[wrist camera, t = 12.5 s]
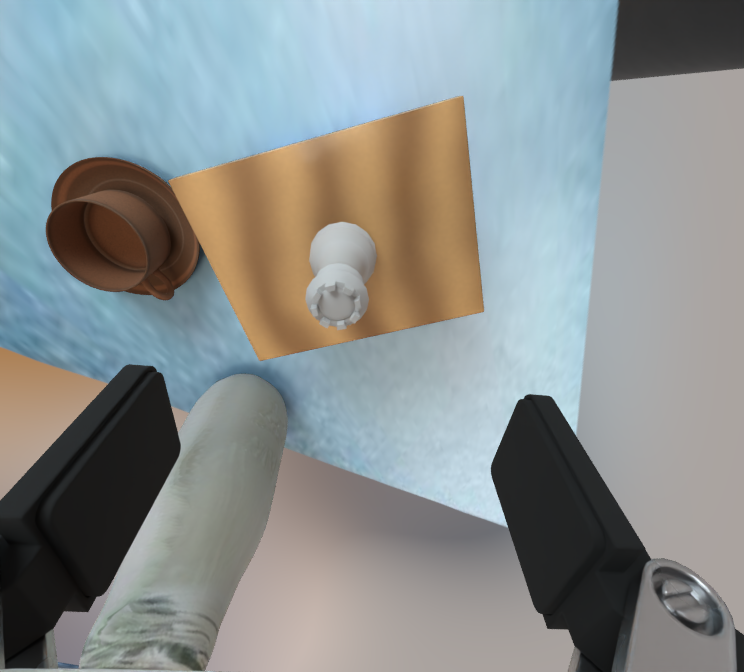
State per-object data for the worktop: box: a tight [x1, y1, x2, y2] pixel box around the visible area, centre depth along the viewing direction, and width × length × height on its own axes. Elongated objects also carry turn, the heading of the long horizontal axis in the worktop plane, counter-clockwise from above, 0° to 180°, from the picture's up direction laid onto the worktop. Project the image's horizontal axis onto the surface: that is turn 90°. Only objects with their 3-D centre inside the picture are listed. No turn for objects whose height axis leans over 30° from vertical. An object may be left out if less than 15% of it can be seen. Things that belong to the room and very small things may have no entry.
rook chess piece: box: [305, 222, 377, 330], centre depth 22 cm, size 4×4×8 cm
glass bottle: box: [79, 374, 288, 671], centre depth 33 cm, size 10×10×28 cm
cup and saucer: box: [46, 157, 200, 300], centre depth 31 cm, size 12×12×6 cm
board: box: [168, 96, 484, 361], centre depth 26 cm, size 18×14×1 cm
